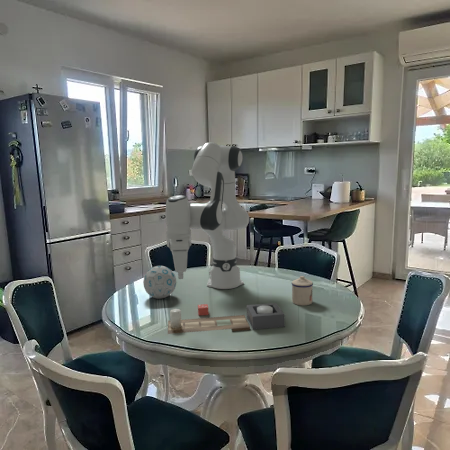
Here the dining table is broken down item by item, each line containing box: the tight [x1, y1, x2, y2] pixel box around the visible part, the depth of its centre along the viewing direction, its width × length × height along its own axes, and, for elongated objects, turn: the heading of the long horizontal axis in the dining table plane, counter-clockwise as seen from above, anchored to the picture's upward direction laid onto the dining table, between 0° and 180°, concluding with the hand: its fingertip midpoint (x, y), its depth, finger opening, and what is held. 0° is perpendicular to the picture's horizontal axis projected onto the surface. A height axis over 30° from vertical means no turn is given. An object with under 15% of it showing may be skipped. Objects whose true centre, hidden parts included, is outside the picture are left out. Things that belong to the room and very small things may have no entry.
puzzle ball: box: [143, 265, 177, 300], centre depth 177 cm, size 15×15×15 cm
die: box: [197, 303, 210, 316], centre depth 154 cm, size 4×4×4 cm
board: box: [167, 314, 251, 335], centre depth 144 cm, size 12×30×1 cm, turn 97°
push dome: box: [257, 305, 273, 314], centre depth 146 cm, size 6×6×3 cm
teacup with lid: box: [291, 275, 314, 306], centre depth 167 cm, size 12×9×12 cm
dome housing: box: [246, 302, 285, 331], centre depth 146 cm, size 12×12×5 cm
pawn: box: [169, 308, 182, 329], centre depth 142 cm, size 4×4×6 cm
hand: (180, 278), depth 139 cm, fingers closed
